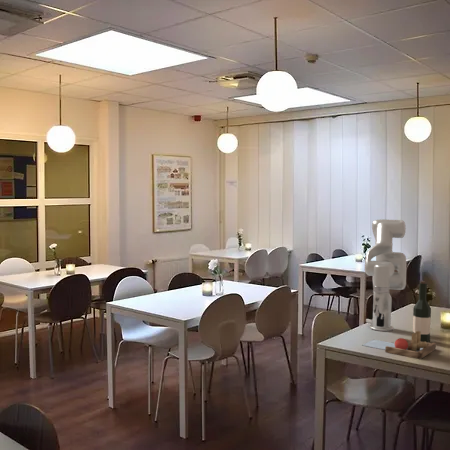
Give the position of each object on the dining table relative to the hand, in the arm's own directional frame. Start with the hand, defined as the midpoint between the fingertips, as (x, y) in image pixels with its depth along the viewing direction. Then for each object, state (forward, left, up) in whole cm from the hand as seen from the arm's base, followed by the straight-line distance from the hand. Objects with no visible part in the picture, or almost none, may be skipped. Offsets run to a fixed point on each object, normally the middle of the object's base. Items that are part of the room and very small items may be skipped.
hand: (380, 326), depth 265 cm
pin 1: (+18, -4, -9) cm, 20 cm away
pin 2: (+18, +1, -9) cm, 20 cm away
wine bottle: (+13, +21, -9) cm, 26 cm away
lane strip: (+8, -1, -9) cm, 12 cm away
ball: (+12, -5, -6) cm, 15 cm away
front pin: (+14, -1, -8) cm, 16 cm away
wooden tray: (+15, -1, -9) cm, 18 cm away
